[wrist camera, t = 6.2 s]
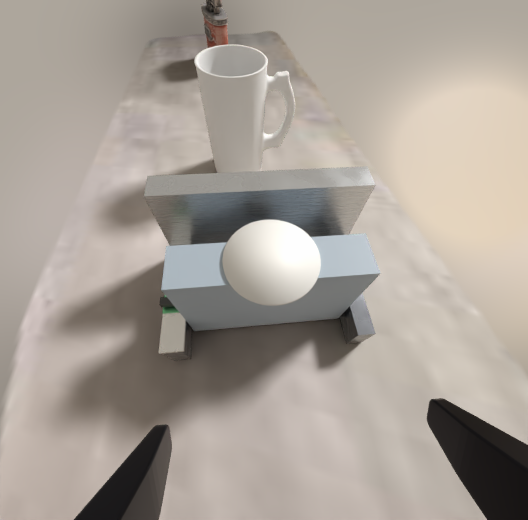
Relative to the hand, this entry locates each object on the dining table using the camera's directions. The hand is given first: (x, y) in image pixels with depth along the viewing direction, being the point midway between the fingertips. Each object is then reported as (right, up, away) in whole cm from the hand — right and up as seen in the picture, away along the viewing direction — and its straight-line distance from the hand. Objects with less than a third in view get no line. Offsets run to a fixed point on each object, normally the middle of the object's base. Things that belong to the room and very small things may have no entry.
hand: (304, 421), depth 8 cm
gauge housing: (-1, +3, +16) cm, 17 cm away
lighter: (-10, +44, +40) cm, 60 cm away
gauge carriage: (-2, +1, +15) cm, 15 cm away
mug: (-3, +18, +25) cm, 31 cm away
